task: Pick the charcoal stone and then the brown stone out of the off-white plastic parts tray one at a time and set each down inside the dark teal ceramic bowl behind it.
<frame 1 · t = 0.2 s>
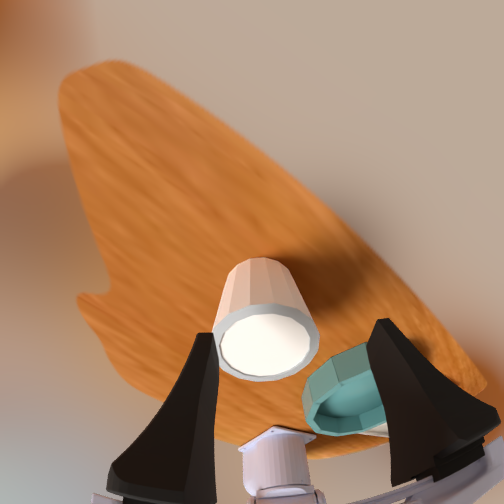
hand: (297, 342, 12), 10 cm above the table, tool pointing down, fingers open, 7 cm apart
white piece: (259, 287, 23), on the table
bowl: (360, 383, 29), on the table
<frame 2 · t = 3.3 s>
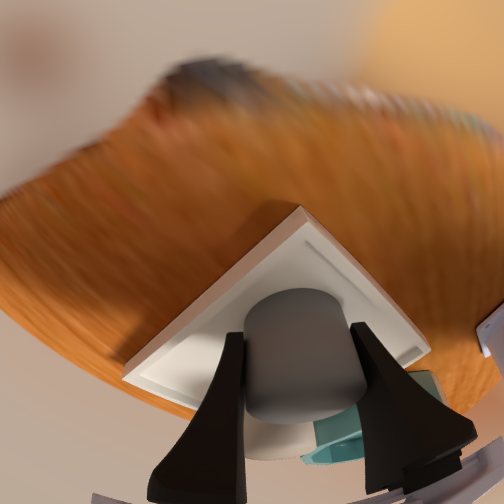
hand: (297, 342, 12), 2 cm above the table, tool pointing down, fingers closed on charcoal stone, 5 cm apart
charcoal stone: (294, 325, 13), point 1 cm above the table, touching gripper, parts tray
bowl: (370, 411, 22), on the table
parts tray: (281, 361, 15), on the table
brown stone: (274, 398, 17), point 1 cm above the table, touching parts tray
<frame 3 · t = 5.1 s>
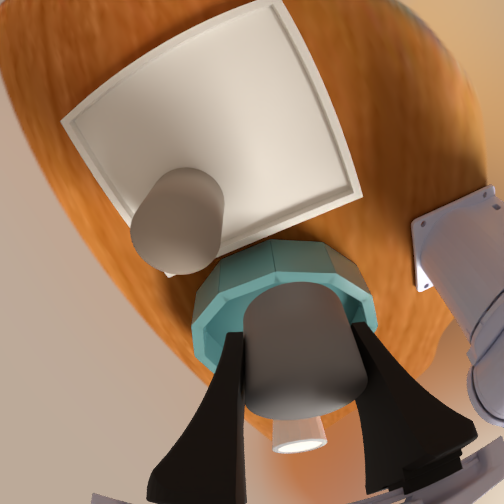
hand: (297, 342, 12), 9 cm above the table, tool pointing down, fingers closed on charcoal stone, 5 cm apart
white piece: (293, 400, 34), on the table
charcoal stone: (293, 320, 13), point 8 cm above the table, touching gripper
bowl: (282, 311, 23), on the table
parts tray: (211, 142, 15), on the table
brown stone: (186, 203, 17), point 1 cm above the table, touching parts tray
when the fingers open (4 cm above the table, at t = 7.2 s): charcoal stone drops 2 cm, resting on bowl.
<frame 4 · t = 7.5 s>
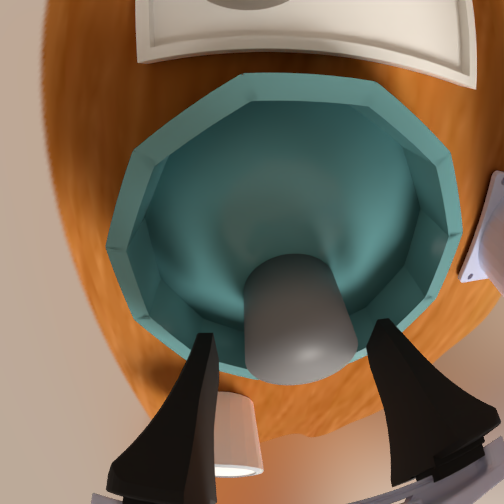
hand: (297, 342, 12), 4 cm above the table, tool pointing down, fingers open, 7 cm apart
white piece: (222, 402, 23), on the table
charcoal stone: (290, 291, 14), point 1 cm above the table, touching bowl
bowl: (289, 231, 13), on the table
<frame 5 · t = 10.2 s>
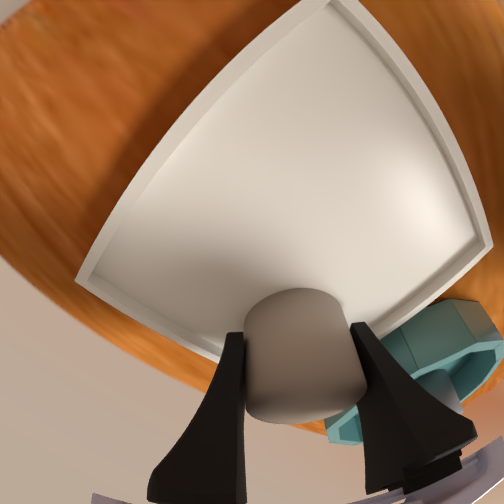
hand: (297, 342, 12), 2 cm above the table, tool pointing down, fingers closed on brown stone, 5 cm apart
charcoal stone: (422, 385, 18), point 1 cm above the table, touching bowl
bowl: (408, 368, 17), on the table
parts tray: (307, 246, 11), on the table
brown stone: (294, 325, 13), point 1 cm above the table, touching gripper, parts tray
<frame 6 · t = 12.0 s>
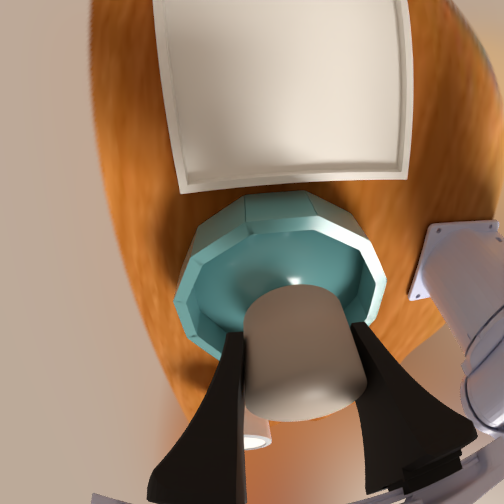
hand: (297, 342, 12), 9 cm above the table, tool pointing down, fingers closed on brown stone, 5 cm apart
white piece: (239, 391, 32), on the table
bowl: (278, 279, 21), on the table
parts tray: (293, 69, 13), on the table
brown stone: (293, 322, 13), point 8 cm above the table, touching gripper
when the fingers open (4 cm above the table, at t = 13.5 s): brown stone drops 2 cm, resting on bowl.
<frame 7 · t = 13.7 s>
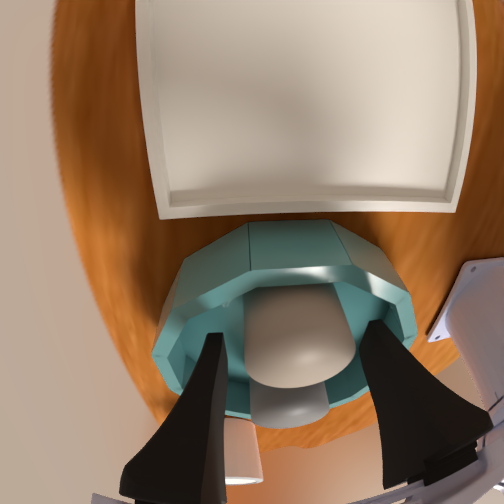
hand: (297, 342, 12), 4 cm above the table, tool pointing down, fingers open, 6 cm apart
white piece: (229, 424, 27), on the table
charcoal stone: (283, 362, 18), point 1 cm above the table, touching bowl
bowl: (283, 323, 17), on the table
parts tray: (328, 53, 9), on the table
brown stone: (289, 295, 14), point 1 cm above the table, touching bowl
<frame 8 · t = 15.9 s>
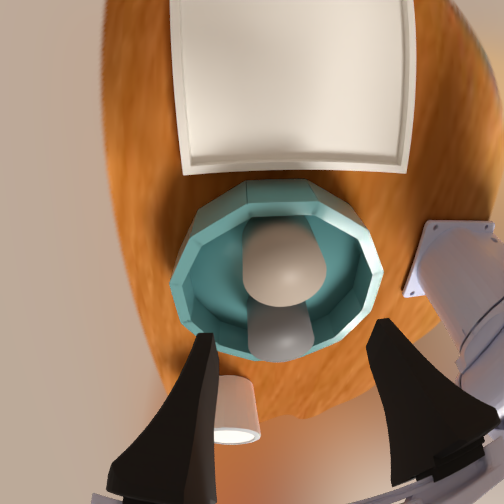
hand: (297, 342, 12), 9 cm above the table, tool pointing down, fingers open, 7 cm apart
white piece: (229, 384, 32), on the table
charcoal stone: (276, 304, 22), point 1 cm above the table, touching bowl
bowl: (275, 268, 21), on the table
parts tray: (300, 61, 13), on the table
brown stone: (277, 238, 19), point 1 cm above the table, touching bowl
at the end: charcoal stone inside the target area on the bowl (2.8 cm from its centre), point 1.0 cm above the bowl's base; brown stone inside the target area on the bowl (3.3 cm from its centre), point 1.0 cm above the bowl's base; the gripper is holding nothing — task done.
